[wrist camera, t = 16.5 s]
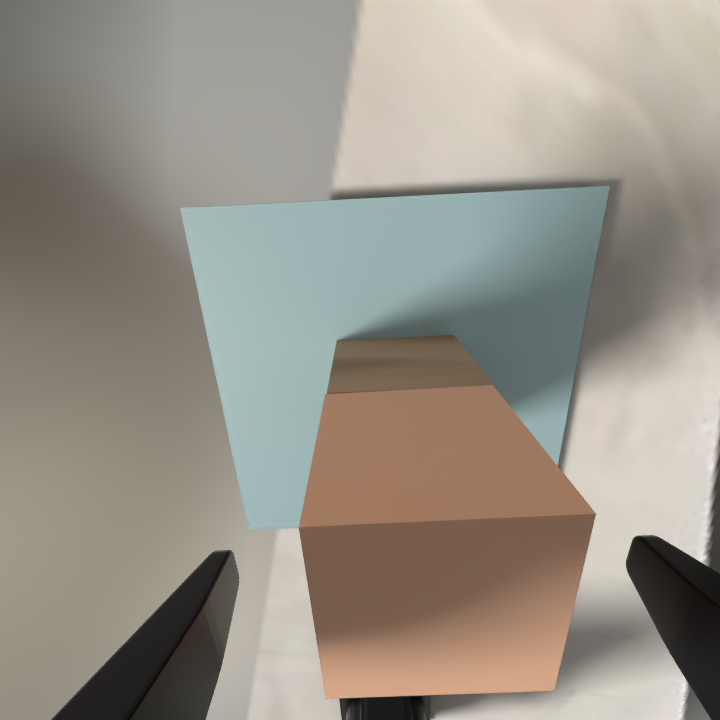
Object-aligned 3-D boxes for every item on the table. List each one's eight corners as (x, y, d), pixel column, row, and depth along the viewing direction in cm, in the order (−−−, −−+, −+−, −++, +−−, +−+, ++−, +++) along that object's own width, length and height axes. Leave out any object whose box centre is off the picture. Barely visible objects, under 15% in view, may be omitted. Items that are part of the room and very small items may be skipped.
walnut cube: (448, 434, 17) (482, 515, 12) (344, 439, 17) (338, 520, 13) (453, 334, 15) (494, 385, 11) (336, 340, 15) (326, 393, 11)
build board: (538, 505, 20) (547, 519, 19) (253, 515, 20) (248, 529, 19) (593, 187, 14) (609, 185, 13) (191, 208, 14) (180, 207, 13)
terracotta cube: (481, 514, 12) (554, 690, 8) (338, 521, 13) (326, 698, 8) (492, 385, 11) (595, 513, 6) (325, 393, 11) (298, 526, 6)
